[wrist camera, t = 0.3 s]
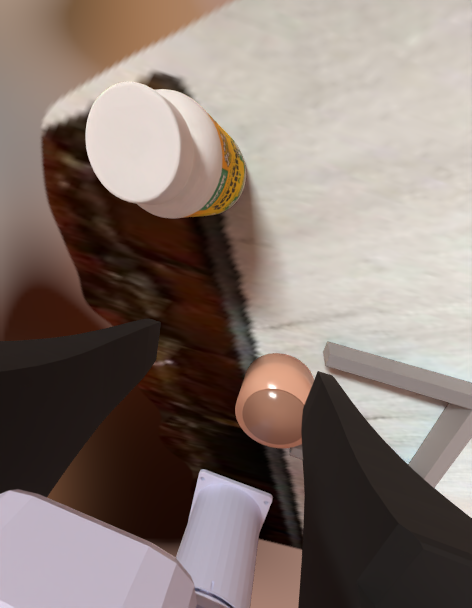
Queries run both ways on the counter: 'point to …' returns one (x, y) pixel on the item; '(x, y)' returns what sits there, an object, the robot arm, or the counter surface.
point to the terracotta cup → (274, 400)
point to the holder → (460, 394)
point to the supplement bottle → (163, 152)
